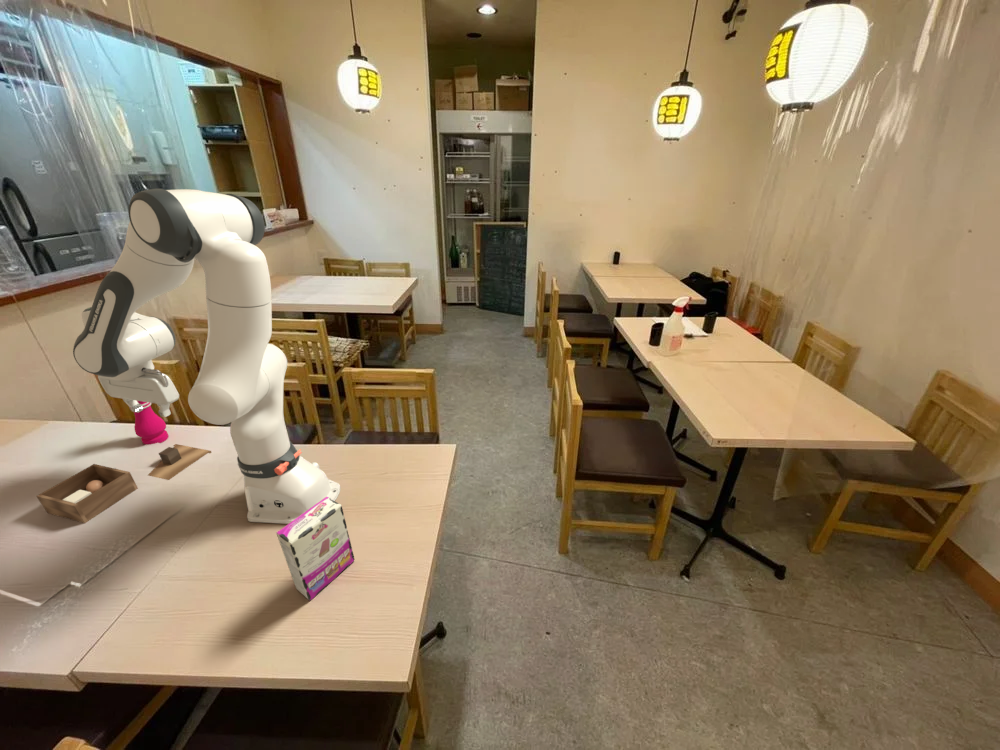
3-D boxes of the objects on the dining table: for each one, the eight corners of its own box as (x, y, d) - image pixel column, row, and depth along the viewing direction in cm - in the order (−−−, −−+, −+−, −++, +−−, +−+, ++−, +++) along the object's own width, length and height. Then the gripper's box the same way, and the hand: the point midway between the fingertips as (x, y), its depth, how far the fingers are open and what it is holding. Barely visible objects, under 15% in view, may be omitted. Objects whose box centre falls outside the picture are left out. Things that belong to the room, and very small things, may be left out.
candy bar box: (340, 550, 88) (327, 494, 81) (355, 560, 86) (343, 504, 79) (293, 589, 80) (274, 531, 72) (309, 602, 78) (291, 543, 70)
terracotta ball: (109, 488, 103) (103, 478, 102) (95, 496, 101) (89, 487, 99) (99, 485, 104) (94, 476, 103) (85, 494, 101) (80, 484, 100)
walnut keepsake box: (139, 489, 104) (129, 472, 101) (86, 524, 93) (74, 505, 91) (104, 481, 106) (94, 463, 104) (48, 514, 96) (36, 496, 93)
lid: (212, 454, 118) (207, 441, 116) (170, 483, 107) (163, 469, 105) (177, 447, 121) (171, 434, 119) (132, 475, 110) (125, 461, 108)
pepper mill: (154, 448, 119) (127, 390, 110) (134, 445, 120) (106, 387, 111) (176, 434, 125) (152, 378, 116) (157, 431, 127) (132, 375, 118)
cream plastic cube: (97, 503, 99) (90, 492, 97) (80, 513, 95) (73, 502, 94) (86, 500, 99) (79, 489, 98) (69, 510, 96) (62, 499, 95)
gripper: (174, 365, 100) (194, 411, 107) (113, 357, 105) (135, 402, 111) (149, 376, 95) (171, 424, 101) (85, 367, 99) (110, 414, 106)
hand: (152, 413), depth 106 cm, fingers open, 8 cm apart
